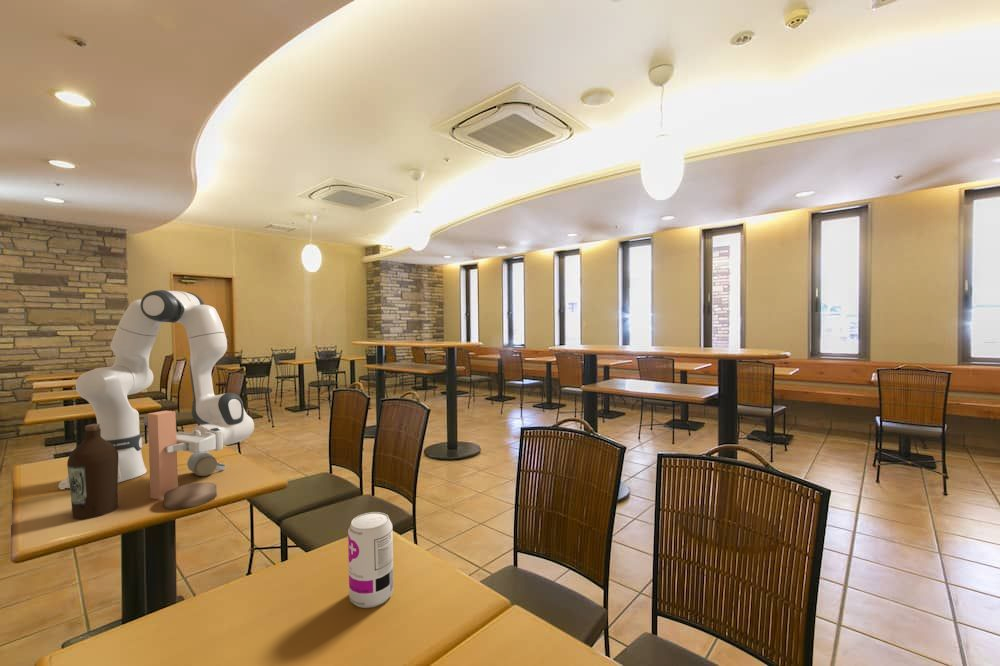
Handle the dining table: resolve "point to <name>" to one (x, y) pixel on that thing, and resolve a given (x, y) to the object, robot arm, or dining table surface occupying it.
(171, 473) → the terracotta post
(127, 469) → the robot arm
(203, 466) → the ceramic mug
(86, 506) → the olive oil
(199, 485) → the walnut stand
